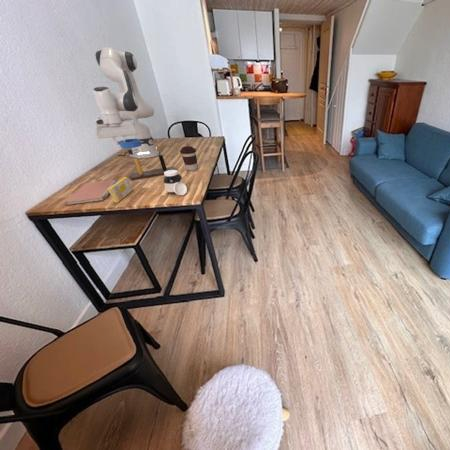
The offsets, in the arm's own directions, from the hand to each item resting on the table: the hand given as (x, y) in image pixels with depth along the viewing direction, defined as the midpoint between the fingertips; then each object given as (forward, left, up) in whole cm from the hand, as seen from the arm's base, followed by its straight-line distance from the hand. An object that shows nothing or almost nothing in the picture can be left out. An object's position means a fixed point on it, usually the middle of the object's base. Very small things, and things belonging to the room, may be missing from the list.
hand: (121, 144), depth 149 cm
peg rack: (+8, +9, -21) cm, 24 cm away
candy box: (+20, -24, -21) cm, 38 cm away
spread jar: (+45, -11, -21) cm, 51 cm away
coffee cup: (+26, +25, -21) cm, 41 cm away
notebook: (0, -25, -21) cm, 33 cm away
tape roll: (+3, +3, -2) cm, 5 cm away
